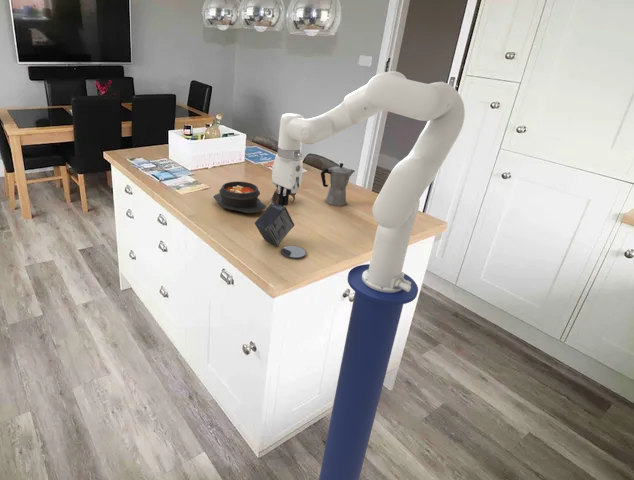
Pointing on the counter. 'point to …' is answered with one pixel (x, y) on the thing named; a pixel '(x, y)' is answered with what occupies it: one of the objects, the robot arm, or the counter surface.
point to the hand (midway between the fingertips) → (282, 204)
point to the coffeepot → (337, 184)
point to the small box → (274, 223)
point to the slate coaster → (293, 252)
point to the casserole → (240, 197)
